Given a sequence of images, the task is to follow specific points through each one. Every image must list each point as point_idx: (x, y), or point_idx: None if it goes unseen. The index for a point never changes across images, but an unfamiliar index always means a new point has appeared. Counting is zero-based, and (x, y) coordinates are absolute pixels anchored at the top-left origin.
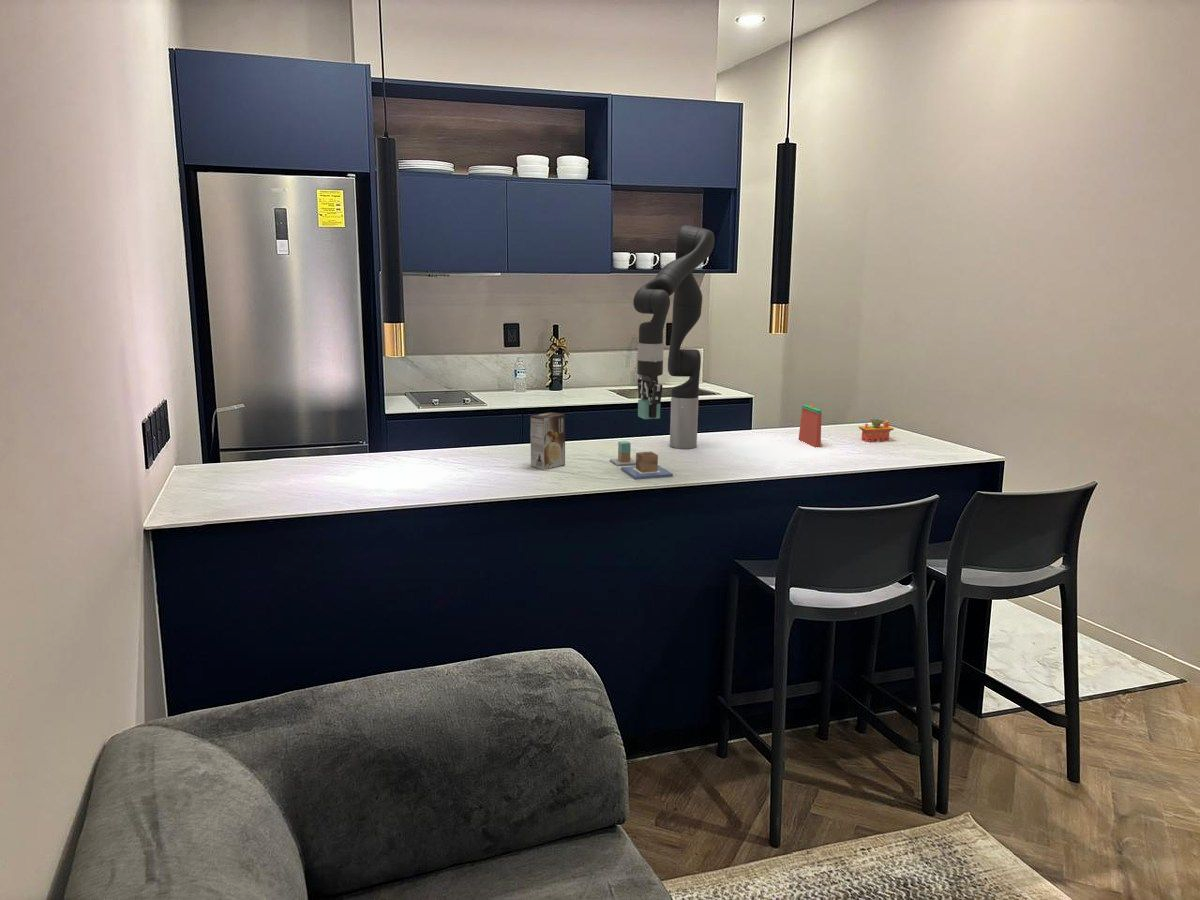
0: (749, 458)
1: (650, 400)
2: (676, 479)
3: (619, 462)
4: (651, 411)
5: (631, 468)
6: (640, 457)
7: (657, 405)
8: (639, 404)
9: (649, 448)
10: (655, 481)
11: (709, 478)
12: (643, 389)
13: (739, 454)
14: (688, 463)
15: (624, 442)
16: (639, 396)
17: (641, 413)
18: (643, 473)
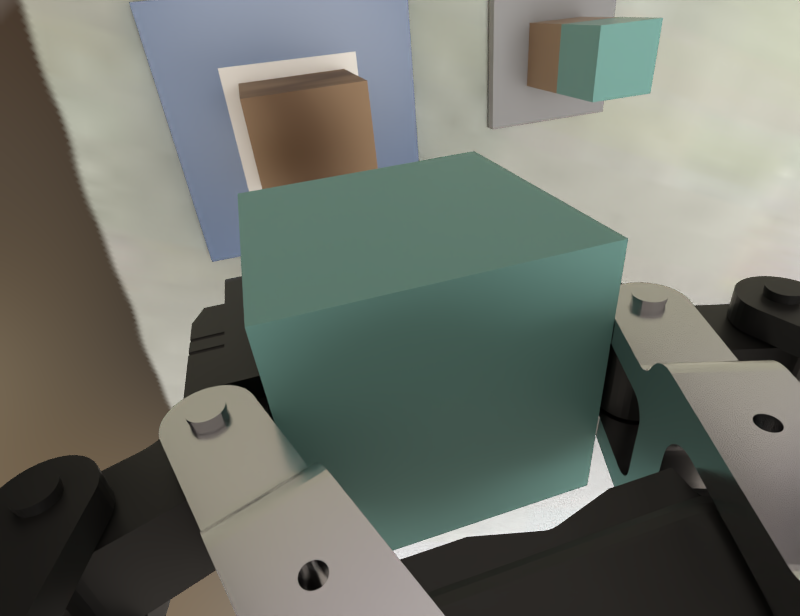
0: (466, 536)
1: (177, 481)
2: (146, 262)
3: (530, 9)
4: (199, 348)
5: (360, 42)
6: (276, 91)
7: None
8: (509, 221)
9: (731, 248)
10: (85, 132)
11: (173, 405)
12: (731, 521)
13: (523, 515)
14: None
15: (623, 60)
16: (774, 303)
17: (359, 193)
18: (222, 89)
